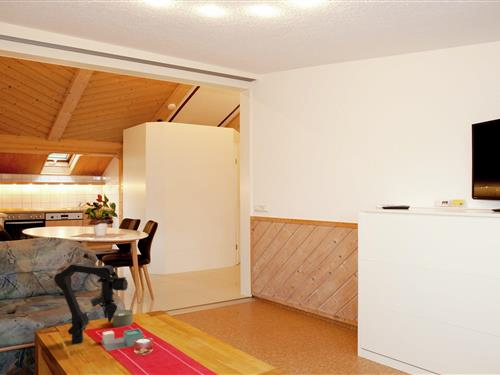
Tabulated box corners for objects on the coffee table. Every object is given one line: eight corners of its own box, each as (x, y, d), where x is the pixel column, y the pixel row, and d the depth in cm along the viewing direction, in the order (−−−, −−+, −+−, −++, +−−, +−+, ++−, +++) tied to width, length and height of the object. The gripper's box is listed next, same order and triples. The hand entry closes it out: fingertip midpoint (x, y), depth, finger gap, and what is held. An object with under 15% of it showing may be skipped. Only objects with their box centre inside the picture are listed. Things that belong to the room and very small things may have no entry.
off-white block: (102, 341, 235) (102, 332, 235) (112, 339, 238) (112, 330, 238) (104, 344, 231) (104, 334, 231) (114, 342, 233) (114, 333, 233)
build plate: (100, 343, 236) (100, 330, 236) (136, 336, 245) (135, 324, 245) (107, 352, 222) (106, 339, 222) (144, 345, 231) (144, 332, 231)
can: (134, 320, 275) (134, 309, 275) (130, 326, 263) (130, 315, 263) (115, 321, 274) (114, 310, 274) (110, 327, 262) (109, 315, 262)
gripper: (88, 288, 238) (88, 317, 238) (94, 295, 222) (94, 327, 222) (109, 286, 243) (110, 314, 243) (117, 293, 227) (117, 323, 227)
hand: (107, 319), depth 234 cm, fingers open, 9 cm apart
